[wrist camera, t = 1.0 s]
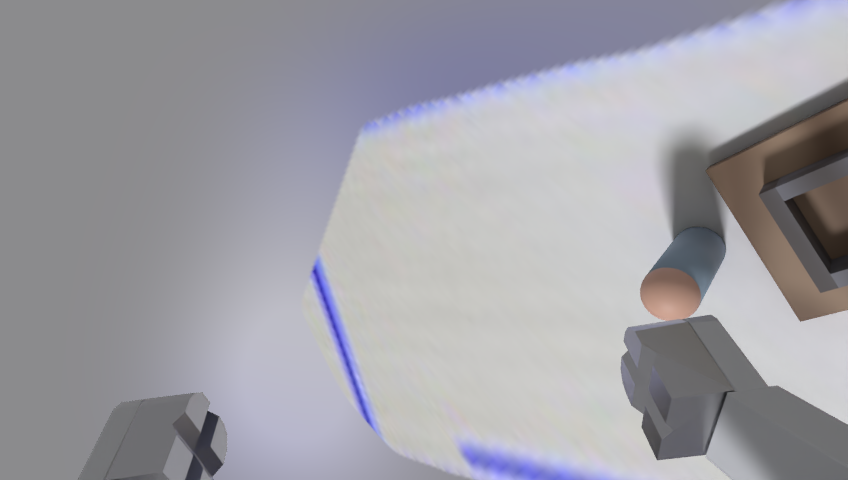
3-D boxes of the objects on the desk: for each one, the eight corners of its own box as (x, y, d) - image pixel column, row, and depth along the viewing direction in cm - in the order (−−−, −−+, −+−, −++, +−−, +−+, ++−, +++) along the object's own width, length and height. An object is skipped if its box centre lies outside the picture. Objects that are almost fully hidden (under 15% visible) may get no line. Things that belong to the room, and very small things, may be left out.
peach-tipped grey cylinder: (709, 219, 46) (674, 270, 37) (735, 260, 46) (706, 321, 37) (664, 238, 49) (622, 289, 40) (688, 277, 49) (651, 337, 40)
